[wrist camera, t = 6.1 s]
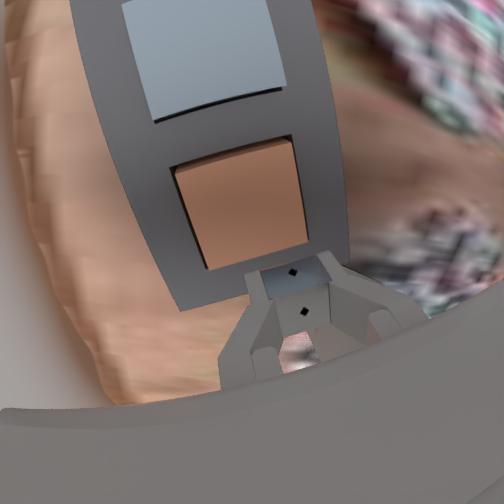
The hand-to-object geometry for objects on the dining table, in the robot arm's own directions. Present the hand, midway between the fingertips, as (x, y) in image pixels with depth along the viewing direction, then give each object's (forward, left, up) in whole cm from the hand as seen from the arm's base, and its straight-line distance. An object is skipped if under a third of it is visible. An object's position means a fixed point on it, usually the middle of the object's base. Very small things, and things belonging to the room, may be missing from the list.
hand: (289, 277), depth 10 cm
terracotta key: (0, 0, -11) cm, 11 cm away
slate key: (0, -9, -9) cm, 13 cm away
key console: (0, -9, -13) cm, 16 cm away
